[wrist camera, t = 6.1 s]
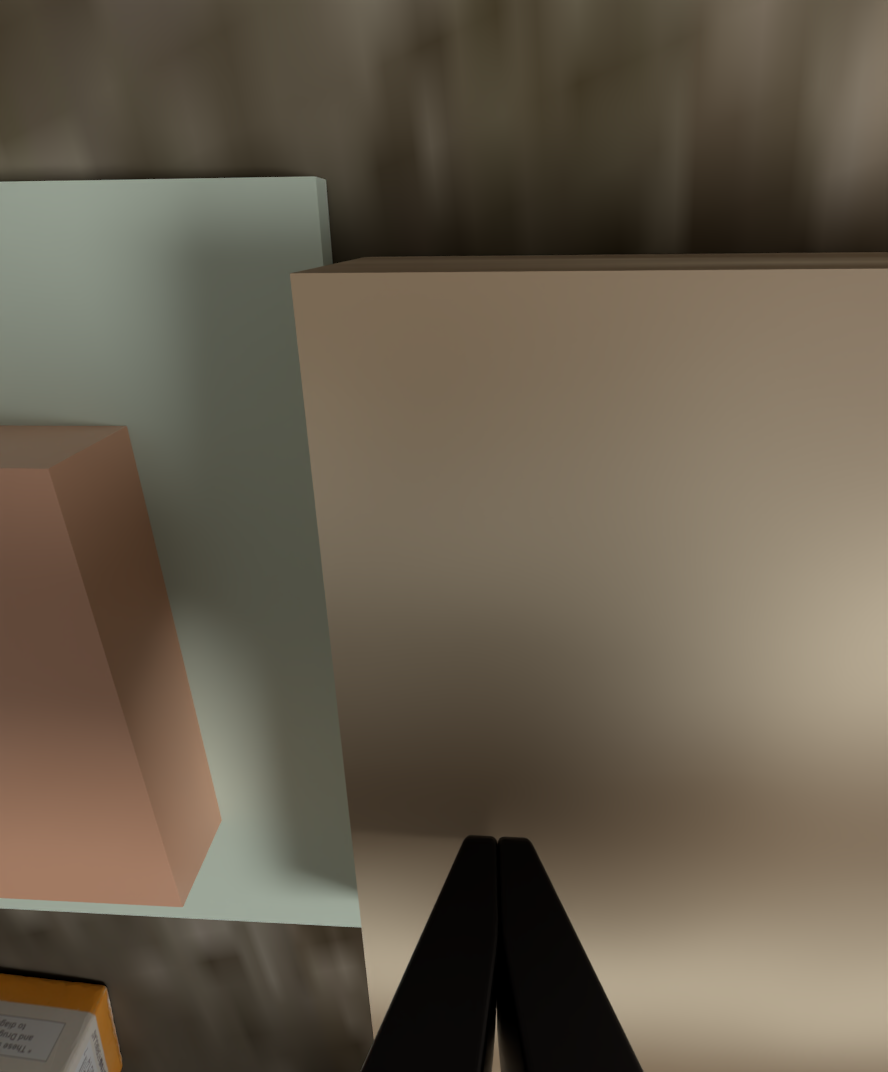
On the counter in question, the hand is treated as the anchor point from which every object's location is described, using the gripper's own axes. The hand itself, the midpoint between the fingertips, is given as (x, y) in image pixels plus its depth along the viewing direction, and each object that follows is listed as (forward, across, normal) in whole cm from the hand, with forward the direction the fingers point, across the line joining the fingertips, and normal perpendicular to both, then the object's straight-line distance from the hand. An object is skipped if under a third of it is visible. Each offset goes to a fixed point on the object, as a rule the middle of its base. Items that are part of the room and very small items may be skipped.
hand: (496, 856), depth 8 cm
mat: (+4, +8, 0) cm, 9 cm away
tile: (+2, +9, 0) cm, 9 cm away
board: (+4, -6, 0) cm, 8 cm away
